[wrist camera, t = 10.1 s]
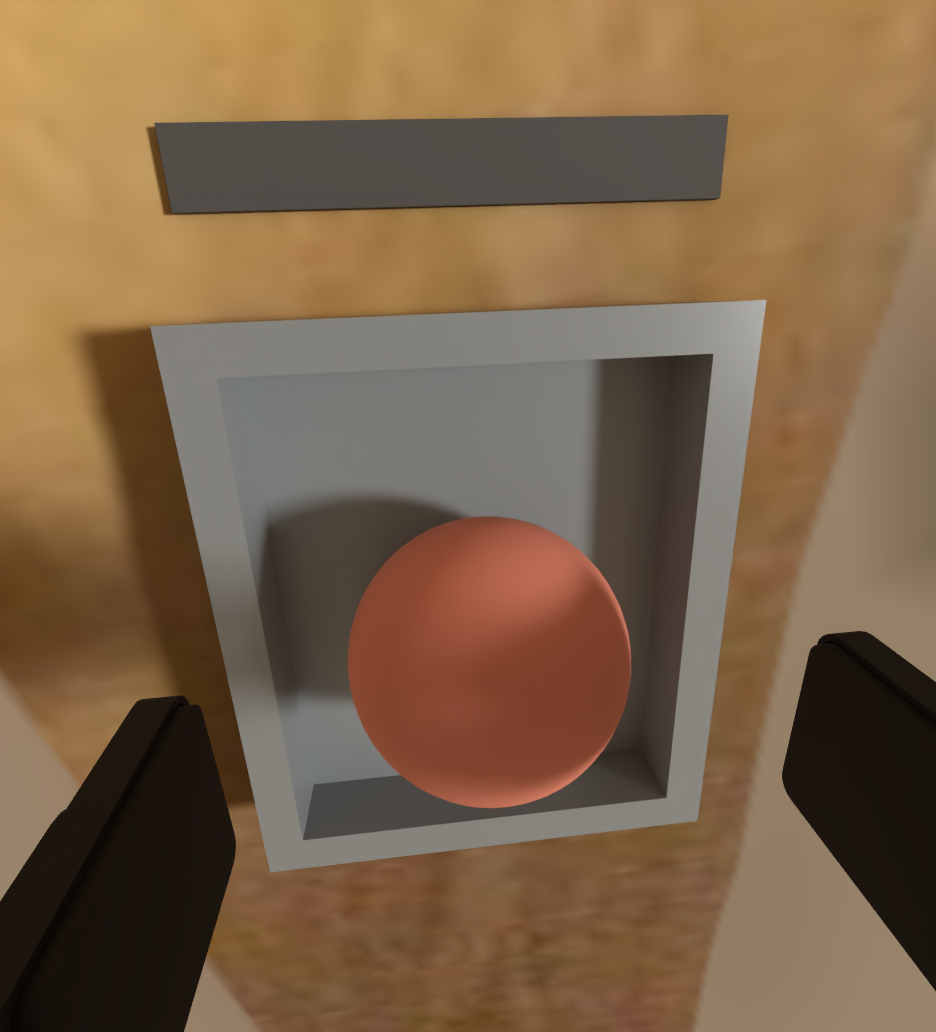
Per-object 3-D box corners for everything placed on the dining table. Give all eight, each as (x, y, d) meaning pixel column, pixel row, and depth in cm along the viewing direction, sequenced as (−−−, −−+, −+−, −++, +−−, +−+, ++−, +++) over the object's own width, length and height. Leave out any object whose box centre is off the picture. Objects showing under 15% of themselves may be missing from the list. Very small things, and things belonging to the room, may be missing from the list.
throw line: (158, 126, 12) (154, 122, 11) (723, 118, 13) (728, 115, 12) (175, 213, 12) (171, 212, 12) (715, 199, 13) (720, 197, 13)
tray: (196, 323, 13) (149, 326, 11) (705, 301, 14) (766, 300, 12) (288, 797, 18) (270, 872, 15) (660, 756, 19) (697, 820, 16)
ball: (347, 490, 14) (306, 614, 8) (587, 474, 14) (701, 582, 9) (371, 692, 16) (351, 900, 10) (580, 673, 16) (668, 862, 11)
